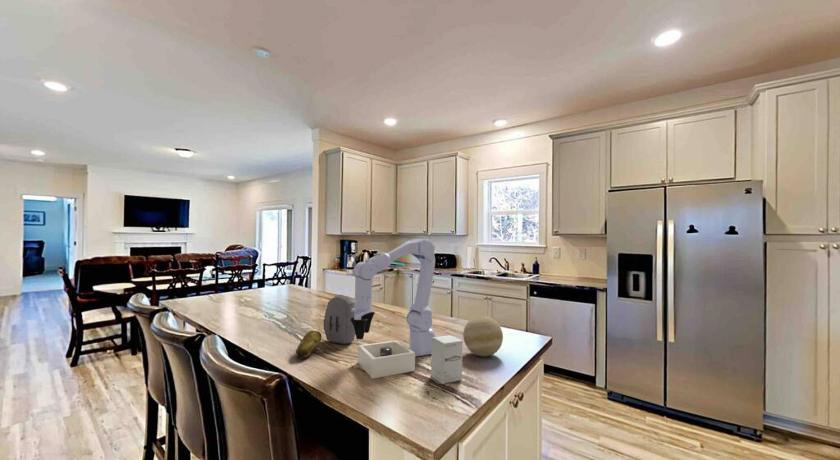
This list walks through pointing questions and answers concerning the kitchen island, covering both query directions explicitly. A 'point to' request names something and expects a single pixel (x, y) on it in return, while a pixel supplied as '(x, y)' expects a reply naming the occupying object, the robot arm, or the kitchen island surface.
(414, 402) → the kitchen island surface
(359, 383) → the kitchen island surface
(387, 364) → the white square storage bin
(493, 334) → the decorative ball
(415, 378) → the kitchen island surface
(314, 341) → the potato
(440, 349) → the supplement box
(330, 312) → the small grey backpack
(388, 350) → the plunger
